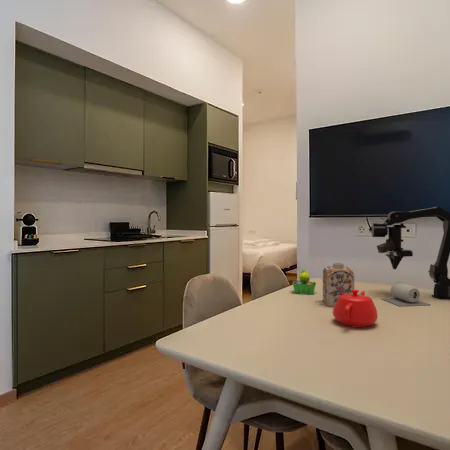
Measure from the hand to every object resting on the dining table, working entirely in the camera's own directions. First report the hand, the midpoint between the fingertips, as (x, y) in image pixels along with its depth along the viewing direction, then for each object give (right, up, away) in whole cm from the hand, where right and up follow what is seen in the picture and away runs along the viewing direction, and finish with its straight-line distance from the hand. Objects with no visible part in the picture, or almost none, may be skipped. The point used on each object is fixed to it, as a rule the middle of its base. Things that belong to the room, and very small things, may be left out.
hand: (394, 269), depth 173 cm
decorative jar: (-32, -14, -14) cm, 38 cm away
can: (-1, -9, -5) cm, 10 cm away
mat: (-1, -13, -13) cm, 18 cm away
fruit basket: (-42, -13, +7) cm, 45 cm away
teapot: (-35, -15, -42) cm, 56 cm away
